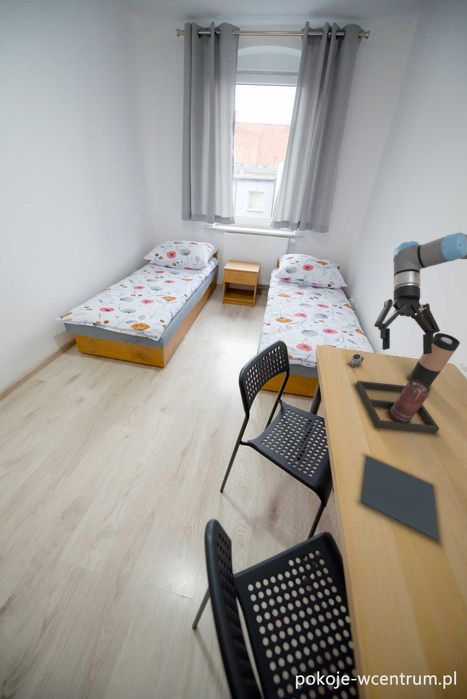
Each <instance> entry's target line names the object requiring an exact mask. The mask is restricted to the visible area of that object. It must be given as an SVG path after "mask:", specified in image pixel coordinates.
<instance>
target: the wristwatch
mask: <svg viewBox="0 0 467 699" xmlns="http://www.w3.org/2000/svg"><path fill="white" fill-rule="evenodd" d="M364 360H365V357H364V356H363V355H362V354H360V353H354V354H353V355H352V356H351V359H350V361H349V365H350V366H351V367H357V366H360V365H361V364H362V363H363V362H364Z"/></svg>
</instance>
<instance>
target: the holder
mask: <svg viewBox="0 0 467 699" xmlns="http://www.w3.org/2000/svg"><path fill="white" fill-rule="evenodd" d="M405 386H406V385H403V384H394V383H384V382H383V383H382V382H374V381H373V382H372V381H366V380H357V382H356V384H355V388H356V391H357V392H358V394H359V397H360V398H361V401H362V402H363V405H364V407H365V409H366V411H367V413H368V415H369V417H370V420H371V421H372V424H373V426H374V428H376V429H385V430H392V431H393V430H395V431H405V432H415V433H424V434H434V435H435V434H437V432H439V430H440V429H441V428H440V427H439V426H438V423H436V422H435V420H434V419H433V417H432V416H431V414H430V413H429V410H427V408H426V407H425V406H424V403H423V404H422V405H421V406H420V408H419V409H418V411H417V413H418V414H419V416H420V417H421V419H422V420H423V422H424V423H425V424H421V423H410V422H409V423H402V422H394V421H393V420H392V421H390V420H384V419H383V420H381V418H380V417H379V414H378V412H377V411H376V409H375V408H380V409H389V410H390V409H391V408H392V406H393V405H394V403H395V401H394V400H393V401H392V400H384V399H372V398H370V397H369V395H368V393H367V391H366V389H367V390H375V391H384V392H385V391H386V392H394V393H401V392H402V390H403V389H404V387H405Z"/></svg>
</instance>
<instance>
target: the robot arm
mask: <svg viewBox="0 0 467 699" xmlns="http://www.w3.org/2000/svg"><path fill="white" fill-rule="evenodd" d="M457 260H467V234H465V233H464V232H462V231H461V232H460V231H459V232H455V233H451V234H447V235H445V236H442V237H440V238H437V239H434V240H431V241H429V242H426V243H423V244H420V243H419V242H418V241H415V240H410V241H404V242H401V243H399V244H398V245H396V246H395V248H394V250H393V259H392V262H393V299H392V298H389V299H387V300H385V301H384V303H383V308H382V309H381V312H380V314H379V315H378V317H377V319H376V321H375V322H374V324H373V326H374V327H375V328H377V329H378V330H379V331H380V334H379V338H380V340H382V344H381V345H382V347H381V348H382V350H383V351H385V350H389V349H391V328H390V327H389V326H390V325H391V324H392V323H393V322H394V321H395V320H396V319H397V318H398V317H399V316H400V317H407V318H411V319H413V320H414V321H415V322H416V324H417V325H418V327H420V329H421V330H422V331H423V332H424V334H422V354H430V353H432V344H433V337H434V335H435V334H437V333H440V332H441V329H440V327H439V325H438V323H437V321H436V319H435V317H434V315H433V313H432V311H431V307H430V303H425V304H421V303H420V299H421V270H423V269H426V268H429V267H434V266H438V265H441V264H444V263H449V262H453V261H457ZM392 308H394V311H393V312H392V313H391V314H390V315H389V316H388V314H389V312H390V311H391V309H392ZM387 316H388V317H387Z"/></svg>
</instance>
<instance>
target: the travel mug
mask: <svg viewBox="0 0 467 699" xmlns="http://www.w3.org/2000/svg"><path fill="white" fill-rule="evenodd" d="M460 344H461V342H460V340H459V339H457V338H455V337H454V336H452V335H450V334H447V333H443V332H436V333H434V335H433V344H432V353H430V354H423V353H422V355H421V356H420V357H419V359H418V360H417V362H416V364H415V366H414V368H413V369H412V371H411V373H410V375H409V377H408V382H410V381H411V380H417V381H420V382H422V383H424V384H425V385H427V386H428V387H431V385H432V384H433V382H434V381H435V380H436V378H437V377H438V376H439V375H440V373H441V372H442V371H443V369H444V368H445V366H446V365H447V363H448V362H449V361H450V359H451V357H452V356H453V354H454V353H455V352H456V350H457V349H458V347H459V345H460Z"/></svg>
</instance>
